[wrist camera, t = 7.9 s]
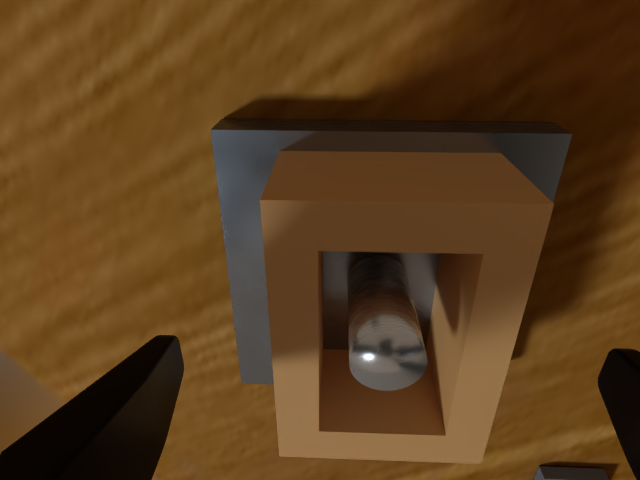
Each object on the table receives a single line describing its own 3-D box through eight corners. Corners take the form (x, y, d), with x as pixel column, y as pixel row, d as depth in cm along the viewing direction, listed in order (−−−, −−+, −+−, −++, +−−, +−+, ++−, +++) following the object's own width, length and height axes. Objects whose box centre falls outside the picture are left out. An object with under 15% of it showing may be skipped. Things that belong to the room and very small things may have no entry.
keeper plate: (489, 367, 14) (538, 487, 11) (247, 360, 15) (217, 474, 11) (553, 122, 10) (660, 185, 7) (221, 119, 11) (163, 177, 7)
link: (454, 377, 13) (480, 463, 11) (290, 372, 13) (279, 456, 11) (501, 152, 10) (554, 203, 7) (279, 151, 10) (259, 200, 8)
